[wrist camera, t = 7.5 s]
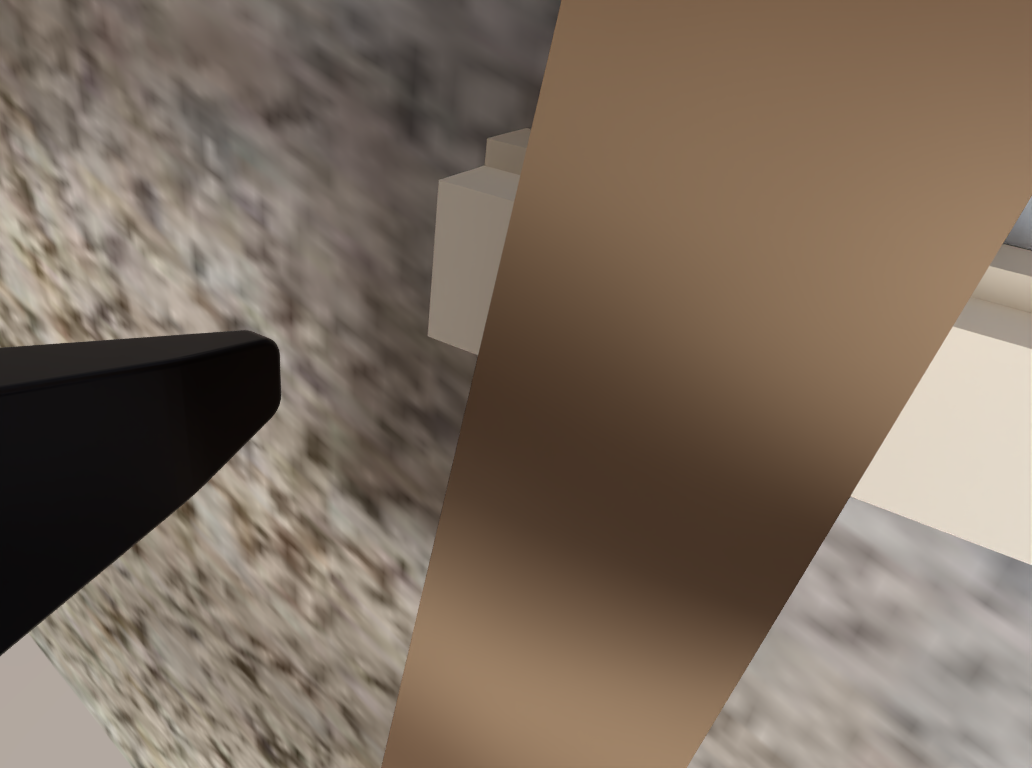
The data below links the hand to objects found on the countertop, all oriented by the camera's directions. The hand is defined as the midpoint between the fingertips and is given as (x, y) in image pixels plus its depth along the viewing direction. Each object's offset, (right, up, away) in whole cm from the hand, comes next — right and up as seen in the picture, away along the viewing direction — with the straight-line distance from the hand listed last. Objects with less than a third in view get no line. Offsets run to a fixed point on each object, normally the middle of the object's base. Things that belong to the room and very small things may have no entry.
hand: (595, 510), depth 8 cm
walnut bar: (+2, +2, +4) cm, 5 cm away
